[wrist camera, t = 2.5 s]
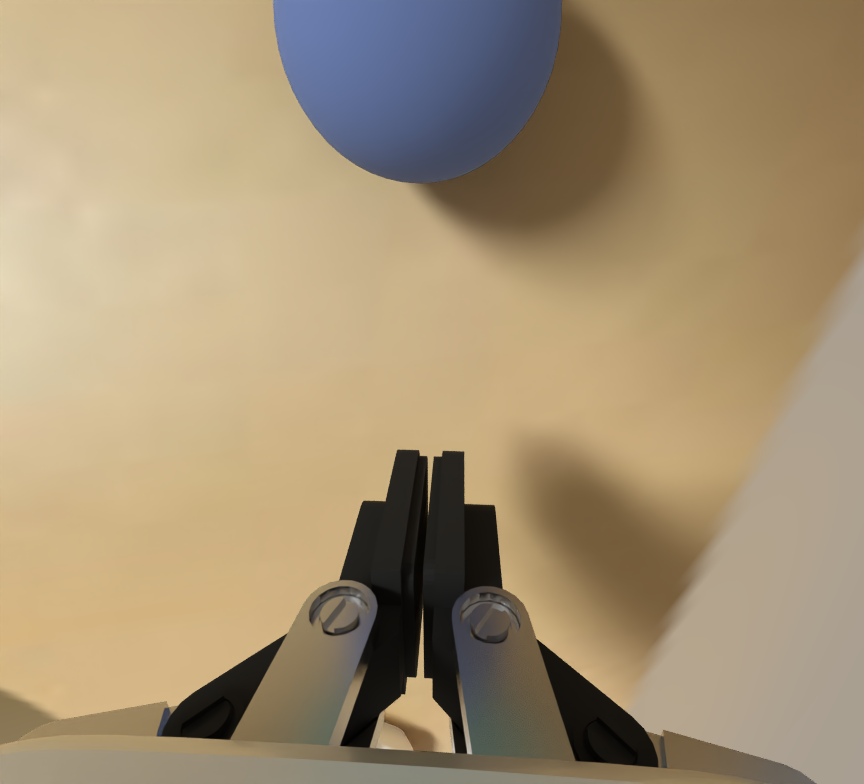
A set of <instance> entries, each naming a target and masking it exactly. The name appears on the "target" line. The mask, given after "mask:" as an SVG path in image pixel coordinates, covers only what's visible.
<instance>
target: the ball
mask: <svg viewBox="0 0 864 784" xmlns="http://www.w3.org/2000/svg"><path fill="white" fill-rule="evenodd" d="M273 7H274V22H275V31H276V37H277V43H278V48H279V52H280V56H281V59H282V63H283V67H284V70H285V73H286V75H287V78H288V80H289V83H290V85H291V88H292V90H293V92H294V94H295V96H296V98H297V100H298V102H299V104H300V105H301V107H302V109H303V111H304V112H305V114H306V115H307V116H308V118H309V119H310V121H311V122H312V124H313V125H314V127H315V128H316V129H317V130H318V132H319V133H320V134H321V135H322V136H323V137H324V139H325V140H326V141H327V142H328V143H329V144H330V145H331V146H332V147H333V148H335V149H336V150H337V151H338V152H339V153H340V154H341V155H342V156H344V157H345V158H347V159H348V160H350V161H351V162H352V163H354V164H355V165H357V166H359V167H361V168H363V169H365V170H366V171H368V172H370V173H373V174H375V175H378V176H381V177H384V178H386V179H391V180H395V181H400V182H408V183H433V182H440V181H445V180H449V179H453V178H456V177H459V176H461V175H464V174H467V173H469V172H471V171H473V170H475V169H477V168H478V167H480V166H482V165H484V164H485V163H487V162H488V161H489V160H491V159H492V158H494V157H495V156H496V155H498V154H499V153H500V152H501V151H502V150H503V149H504V148H505V147H506V146H507V145H508V144H510V143H511V141H512V140H513V139H514V138H515V137H516V136H517V134H518V133H519V132H520V131H521V130H522V128H523V127H524V126H525V124H526V123H527V121H528V120H529V118H530V117H531V115H532V114H533V112H534V111H535V109H536V107H537V105H538V103H539V101H540V99H541V97H542V95H543V93H544V91H545V88H546V86H547V83H548V81H549V78H550V75H551V73H552V69H553V65H554V61H555V58H556V54H557V50H558V43H559V36H560V29H561V9H562V0H273Z"/></svg>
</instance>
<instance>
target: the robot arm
mask: <svg viewBox="0 0 864 784" xmlns="http://www.w3.org/2000/svg"><path fill="white" fill-rule="evenodd" d="M422 611H423V625H424V678H433V699H434V700H435V701H436V702H437V703H438V704H439V706H440V707H441V708H442V709H443V710H444V711H445V712H446V713H447V714H448V716H449V717H450V735H451V743H452V752H453V753H443V752H427V751H411V750H395V749H378V748H376V747H377V744H378V740H379V737H380V733H381V730H382V726H383V723H384V716H385V709H386V708H387V707H388V706H390V705H391V704H392V703H393V702H394V701H396V700H397V699H398V698H399V697H400V696H401V694H405V691H406V682H407V677H415V678H416V676H417V667H418V656H419V644H420V633H421V622H422ZM0 784H816V783H815V782H813V781H812V780H811V779H809V778H808V777H807V776H805V775H804V774H803V773H802V772H800V771H797V770H795V769H793V768H790V767H788V766H786V765H784V764H781V763H777V762H774V761H770V760H767V759H763V758H760V757H756V756H753V755H749V754H746V753H743V752H739V751H736V750H732V749H729V748H725V747H722V746H718V745H715V744H711V743H708V742H704V741H700V740H697V739H694V738H690V737H687V736H683V735H680V734H676V733H673V732H669V731H666V730H663V732H662V735H661V736H660V735H657V734H653V733H649V732H646V731H645V730H644V728H643V727H642V726H641V725H640V724H639V723H638V722H637V721H636V720H635V719H634V718H633V717H632V716H631V715H629V714H628V713H627V712H626V711H625V710H623V709H622V708H621V707H620V706H618V705H617V704H616V703H615V702H613V701H612V700H611V699H610V698H609V697H607V696H606V695H605V694H604V693H602V692H601V691H600V690H599V689H598V688H596V687H595V686H594V685H593V684H591V683H590V682H589V681H588V680H586V679H585V678H584V677H583V676H582V675H580V674H579V673H578V672H577V671H575V670H574V669H573V668H572V667H571V666H569V665H568V664H567V663H566V662H564V661H563V660H562V659H561V658H559V657H558V656H557V655H556V654H555V653H553V652H552V651H551V650H550V649H548V648H547V647H546V646H545V645H544V644H542V643H541V642H540V641H539V640H537V639H536V636H535V633H534V630H533V627H532V624H531V621H530V618H529V614H528V612H527V610H526V608H525V606H524V604H523V603H522V602H521V601H520V600H519V599H518V598H517V597H516V596H515V595H513V594H511V593H510V592H508V591H506V590H504V589H503V588H502V577H501V566H500V555H499V544H498V534H497V523H496V512H495V506H494V505H474V504H464V452H460V451H443V453H442V457H434V461H433V472H432V482H431V492H430V502H429V513H428V459H427V456H420V453H419V450H397V453H396V457H395V462H394V466H393V471H392V475H391V479H390V484H389V488H388V493H387V497H386V501H363V502H362V505H361V508H360V511H359V515H358V518H357V521H356V525H355V528H354V532H353V535H352V539H351V542H350V545H349V549H348V552H347V556H346V559H345V563H344V566H343V569H342V573H341V576H340V580H339V581H335V582H330V583H328V584H326V585H324V586H321V587H319V588H318V589H317V590H316V591H314V592H313V593H312V594H310V596H309V597H308V598H307V600H306V601H305V602H304V604H303V606H302V608H301V610H300V611H299V613H298V615H297V617H296V619H295V621H294V622H293V624H292V626H291V628H290V630H289V632H288V633H287V634H286V635H284V636H282V637H281V638H279V639H278V640H276V641H274V642H273V643H271V644H270V645H268V646H267V647H265V648H263V649H262V650H260V651H259V652H257V653H255V654H254V655H252V656H251V657H249V658H248V659H246V660H244V661H243V662H241V663H240V664H238V665H236V666H235V667H233V668H232V669H230V670H229V671H227V672H225V673H224V674H222V675H221V676H219V677H218V678H216V679H214V680H213V681H211V682H210V683H208V684H206V685H205V686H203V687H202V688H200V689H199V690H197V691H195V692H194V693H193V694H191V695H190V696H189V697H187V698H186V699H185V700H184V701H182V702H181V703H180V704H179V706H173V707H168V704H167V701H166V702H160V703H154V704H148V705H143V706H137V707H131V708H125V709H120V710H114V711H108V712H103V713H97V714H91V715H85V716H80V717H74V718H68V719H62V720H57V721H53V722H50V723H47V724H44V725H42V726H39V727H37V728H36V729H34V730H33V731H31V732H29V733H27V734H26V735H24V736H23V737H21V738H20V739H19V740H18V741H17V742H12V743H7V744H2V745H0Z"/></svg>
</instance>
